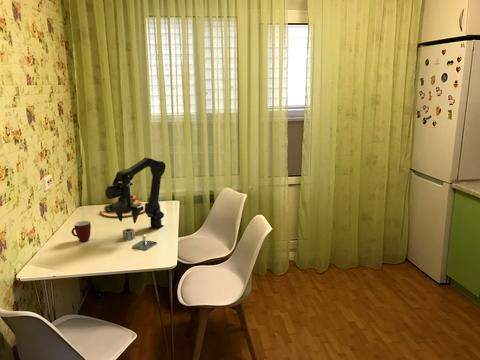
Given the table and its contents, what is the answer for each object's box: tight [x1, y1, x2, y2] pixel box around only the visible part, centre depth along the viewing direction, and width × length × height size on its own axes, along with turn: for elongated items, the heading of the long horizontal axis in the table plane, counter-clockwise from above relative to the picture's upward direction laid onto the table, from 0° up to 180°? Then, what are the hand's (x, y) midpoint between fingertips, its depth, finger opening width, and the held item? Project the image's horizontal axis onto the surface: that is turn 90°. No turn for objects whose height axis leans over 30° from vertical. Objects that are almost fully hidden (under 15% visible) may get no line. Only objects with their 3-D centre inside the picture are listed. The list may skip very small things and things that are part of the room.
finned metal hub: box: [131, 233, 158, 251], centre depth 204 cm, size 9×9×6 cm
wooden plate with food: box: [100, 195, 147, 219], centre depth 266 cm, size 32×32×8 cm
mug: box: [71, 220, 92, 243], centre depth 213 cm, size 10×8×10 cm
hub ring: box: [122, 228, 136, 241], centre depth 216 cm, size 6×6×4 cm
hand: (127, 222), depth 214 cm, fingers open, 9 cm apart
